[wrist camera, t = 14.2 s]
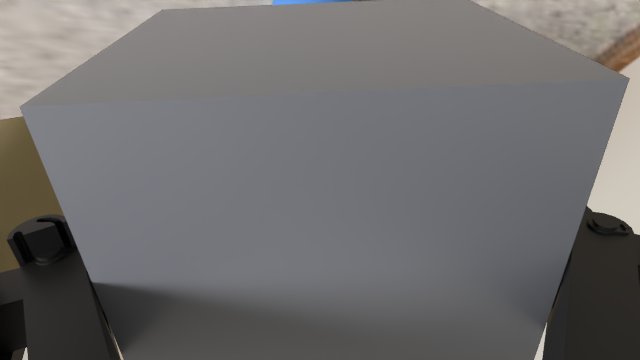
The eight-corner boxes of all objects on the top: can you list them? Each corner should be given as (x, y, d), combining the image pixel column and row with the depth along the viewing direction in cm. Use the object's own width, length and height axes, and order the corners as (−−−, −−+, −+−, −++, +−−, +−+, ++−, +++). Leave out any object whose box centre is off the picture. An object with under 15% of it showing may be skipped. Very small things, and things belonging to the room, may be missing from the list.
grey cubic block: (162, 9, 15) (19, 106, 7) (462, -4, 15) (629, 78, 7) (211, 245, 20) (158, 443, 12) (433, 233, 20) (512, 421, 13)
